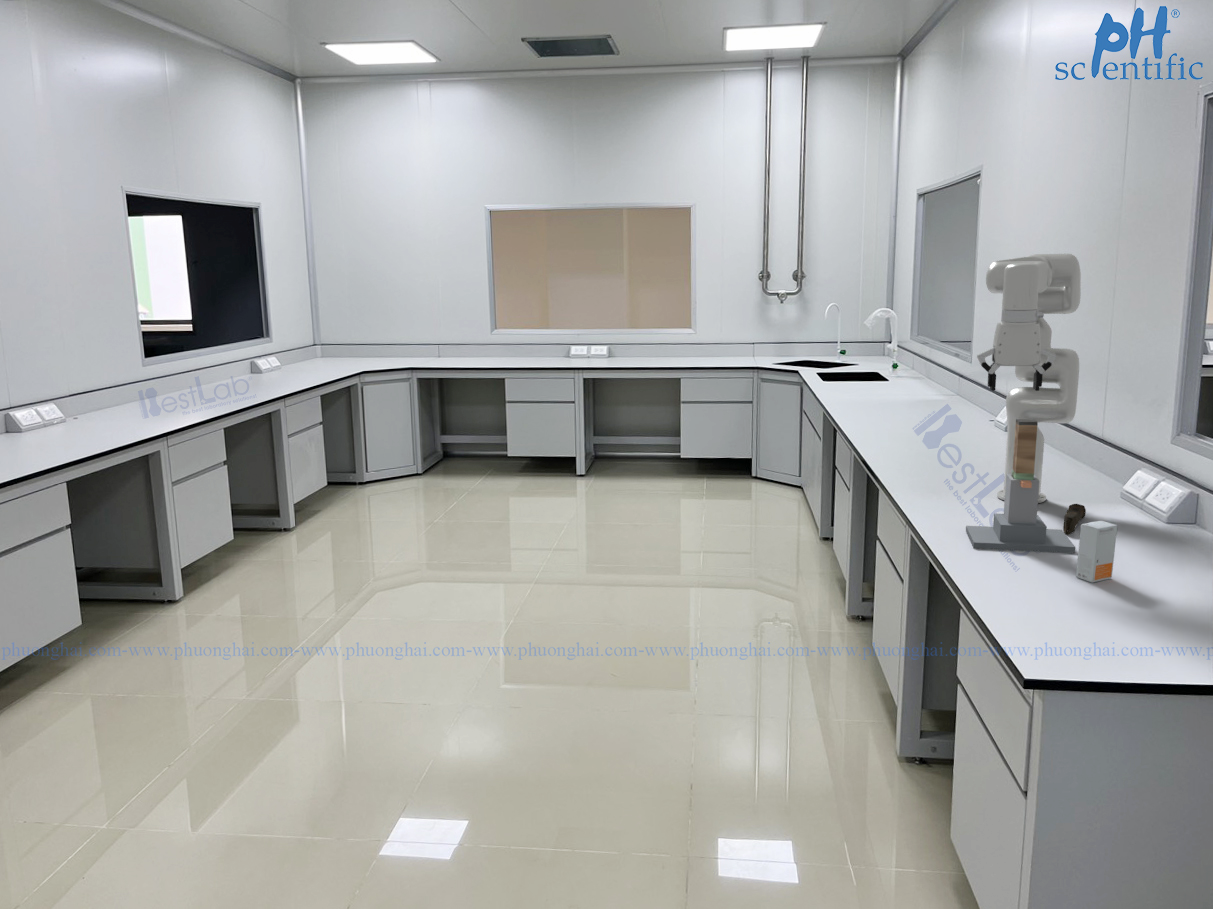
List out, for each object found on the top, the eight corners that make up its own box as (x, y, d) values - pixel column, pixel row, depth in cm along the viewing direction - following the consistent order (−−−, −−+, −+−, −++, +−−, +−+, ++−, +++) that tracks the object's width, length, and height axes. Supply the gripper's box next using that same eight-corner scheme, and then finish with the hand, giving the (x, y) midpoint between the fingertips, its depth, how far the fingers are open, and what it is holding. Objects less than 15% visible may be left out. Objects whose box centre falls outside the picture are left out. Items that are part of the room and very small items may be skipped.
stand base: (965, 531, 231) (969, 469, 228) (1061, 535, 226) (1066, 472, 223) (973, 548, 218) (977, 482, 215) (1074, 553, 213) (1080, 486, 209)
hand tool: (1068, 516, 242) (1069, 499, 241) (1085, 519, 240) (1086, 501, 239) (1053, 535, 227) (1055, 517, 226) (1071, 537, 225) (1072, 519, 224)
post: (1011, 487, 222) (1015, 418, 218) (1029, 488, 221) (1034, 418, 217) (1014, 491, 218) (1018, 421, 214) (1032, 492, 217) (1037, 422, 213)
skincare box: (1092, 583, 193) (1097, 528, 191) (1075, 577, 197) (1079, 523, 195) (1113, 579, 196) (1118, 524, 193) (1095, 573, 200) (1100, 519, 197)
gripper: (1055, 315, 216) (1049, 387, 220) (976, 316, 220) (972, 387, 224) (1063, 318, 209) (1057, 392, 213) (982, 319, 213) (978, 392, 217)
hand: (1014, 389), depth 218 cm, fingers open, 9 cm apart
